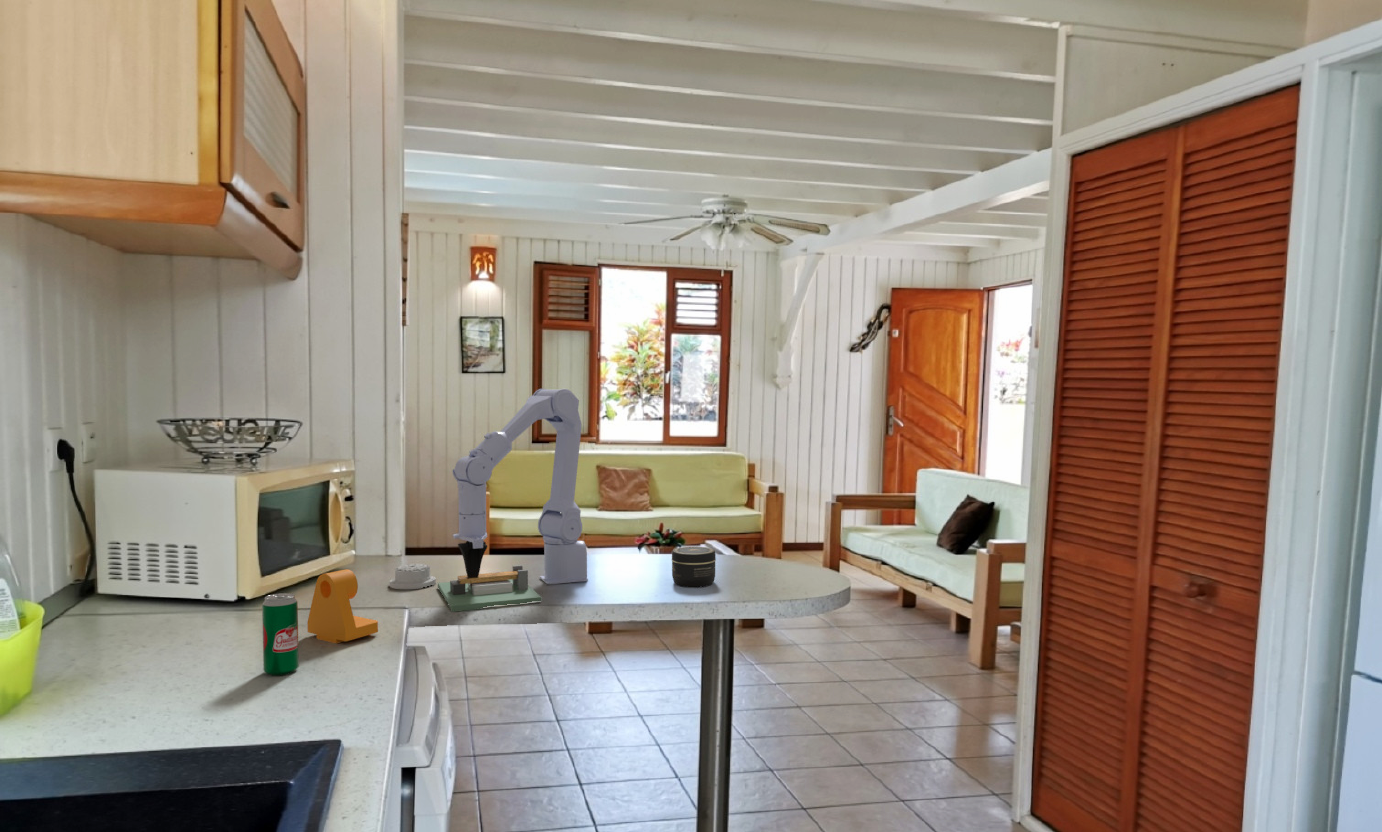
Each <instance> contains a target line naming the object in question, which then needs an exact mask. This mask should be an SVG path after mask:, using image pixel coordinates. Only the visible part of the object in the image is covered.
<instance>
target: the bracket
mask: <svg viewBox="0 0 1382 832" xmlns="http://www.w3.org/2000/svg"><path fill="white" fill-rule="evenodd" d="M315 583H316V584H315V586H314V587H315V588H314V591H313V596H312V599H311V605H310V610H309V614H308V617H307V621H306V622H307V624H306V625H307V633H310V634H314V635H316V640H320V641H325V642H328V643H333V644H339V643H342V642H349V641H353V640H355V639H360V638H362V637H366V636H369V635H372V634H377V633H379V621H378V620H376V619H371V618H367V617H362V616H361V617H360V616H356V615H354V614H353V609H352V606H351V602H350V600H352V599H354V598H355V596H357V593H358V591H359V590H358V588H359V586H358V585H359V584H358V579H357V577H356V575H355V573H354V571H352V570H351V569H348V568H347V569H342V570H337V571H331V572H326V573H322V574H320V575H319V576H318V578H317V579H316V582H315Z"/></svg>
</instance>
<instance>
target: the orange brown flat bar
mask: <svg viewBox="0 0 1382 832" xmlns="http://www.w3.org/2000/svg"><path fill="white" fill-rule="evenodd" d="M510 579H518V570H516V571H513V570H509V571H501V572H500V571H499V572H488V573H487V572H486V573H479V576H478V577H470V578H469V577H468V576H467V574H465V575H458V576H457V580H458V582H459V583H460V584H467V583H478V582H489V581H500V580H510Z"/></svg>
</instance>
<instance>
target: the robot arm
mask: <svg viewBox="0 0 1382 832" xmlns="http://www.w3.org/2000/svg"><path fill="white" fill-rule="evenodd" d="M579 403H580V400H579V399H578V398H577V396H576V395H575V394H574V393H573V392H572V390H570V389H567V388H560V389H547V388H539V389H536V390H535V392H534V393H533V394H532V395H531V396H529V397H527V399H526V402H525V404H524V405H523V406H522V407H521V408H520V409H519V411H518V412H516V413H515V415H514V416H513V417H512V418H511V419H510V421H508V422H507V424H506V425H504V427H503V428H502V429H501V430H500V431H497V430H495V431H492V432H487V433H486V434H485V435H484V439H483V441H481V442H480V443H479V444H478V445H477V446H476V447H475V448H471V450H470V451H469V454H468V456H461V458H459V459H458V460H457V461H456V463H455V466H454V469H452V476H453V478H454V479H455V480H456V482H457V489H458V490H457V493H458V495H457V496H458V498H457V499H458V533H454V534H452V538H453V539H455V540H456V539H458V540H463V541H465V542H461V543H458V544H457V546H458V548H459V550H460V552H461V555H462V557H463V563H464V568H465V572H466V575H467V576H468V577H469V578H470V577H478V576H479V574H480V571H481V565H482V562H483V557H484V555H485V554H486V550H487V549H488V544H487V543H486V542H485V540H486V539H487V538H488V533H487V482H488V481H490V479H491V477H492V474H493V470H494V469H495V467H496V466H497V465H498V464H499V463H500V462H502V460H503V459H504V458H505V457H507V455H508V454H509V453H510V452H511V451H512V449H513V448H512V447H513V442H514V441H515V440H516V439H518V437H520V436H521V435H522V434H523V433H524V432H525V431H526V430H527V429H529V428H530V427H531V426H532V425H534V423H535V422H537V421H538V420H545V421H547V422H549V424H551V426H552V427H553V428H554V429H555V430H556V438H555V448H554V456H553V457H554V458H553V467H552V475H551V476H552V478H551V487H550V497H549V499H548V500H547V501H546V503H544V504H543V506H542V513H541V515H540V517H539V518H538V522H537V529H538V532H539V534H540V535H541V536H542V541H543V542H544V543H543V546H544V548H543V550H544V552H543V553H544V555H543V556H544V559H543V560H544V575H539V579H541V580H542V581H543V582H544V583H545V584H547V585H557V584H568V583H580V582H587V581H589V579H588V552H587V545H586V543H585V541H584V540H578V539H580V537H581V535H582V532H583V523H582V519H581V509H580V506H579V505H578V504H577V503H576V502H575V495H576V487H577V486H576V484H577V474H578V466H579V465H578V464H579V455H580V445H581V437H582V421H581V417H580V413H579V405H580V404H579Z"/></svg>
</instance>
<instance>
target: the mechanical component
mask: <svg viewBox="0 0 1382 832" xmlns="http://www.w3.org/2000/svg"><path fill="white" fill-rule="evenodd" d="M436 580H437V579H436V577H435V576H433V575H431V567H430V566H429V564H423V563H410V564H403V565H400V566H396V567H395V568H394V578H392V579H390V580H389V587H390V588H391V589H393V590H394V589H396V590H417V589H418V590H419V589H424V588H423V587H425V588H428V587H427V586H429V587H431V586H430V585H432V586H434V585H436V584H435V583H436Z"/></svg>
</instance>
